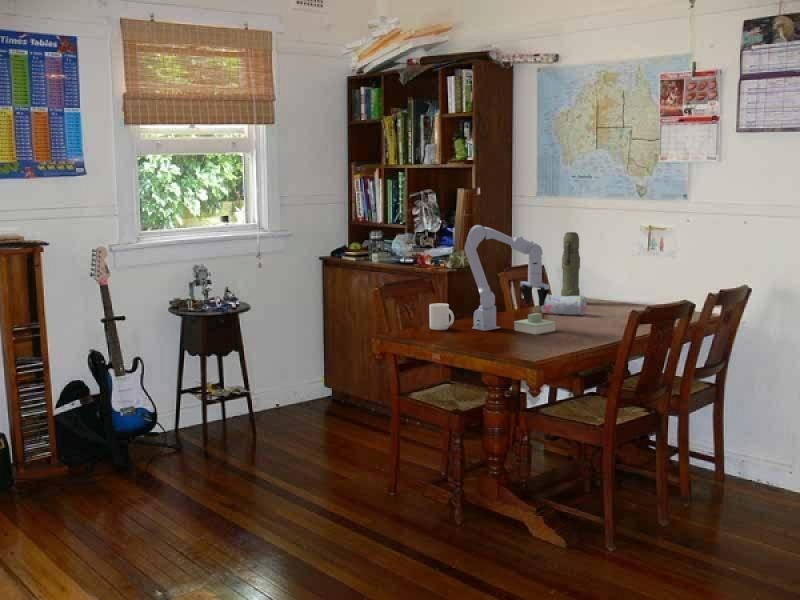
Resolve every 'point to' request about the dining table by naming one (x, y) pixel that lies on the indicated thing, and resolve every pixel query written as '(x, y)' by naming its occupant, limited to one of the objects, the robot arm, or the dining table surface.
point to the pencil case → (564, 305)
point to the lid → (535, 321)
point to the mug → (440, 316)
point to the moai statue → (570, 265)
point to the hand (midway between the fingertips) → (534, 304)
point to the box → (534, 328)
